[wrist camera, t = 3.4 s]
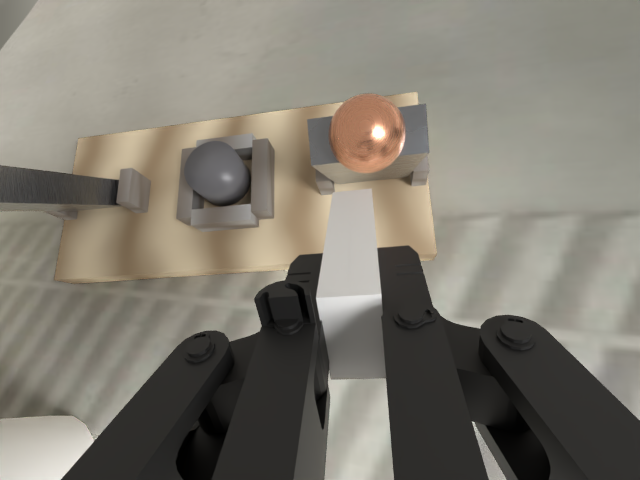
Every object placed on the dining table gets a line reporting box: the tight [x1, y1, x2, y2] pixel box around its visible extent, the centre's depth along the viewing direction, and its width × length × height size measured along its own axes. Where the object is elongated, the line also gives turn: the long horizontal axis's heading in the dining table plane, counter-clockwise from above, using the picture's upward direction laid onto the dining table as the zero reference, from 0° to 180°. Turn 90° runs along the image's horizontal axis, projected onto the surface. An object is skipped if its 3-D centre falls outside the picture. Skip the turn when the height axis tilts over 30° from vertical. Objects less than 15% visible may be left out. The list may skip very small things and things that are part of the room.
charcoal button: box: [184, 141, 251, 206], centre depth 27 cm, size 4×4×3 cm
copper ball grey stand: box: [307, 94, 429, 184], centre depth 20 cm, size 5×3×14 cm, turn 92°
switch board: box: [43, 92, 437, 284], centre depth 29 cm, size 30×13×4 cm, turn 92°
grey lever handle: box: [0, 165, 121, 211], centre depth 24 cm, size 5×3×14 cm, turn 92°
